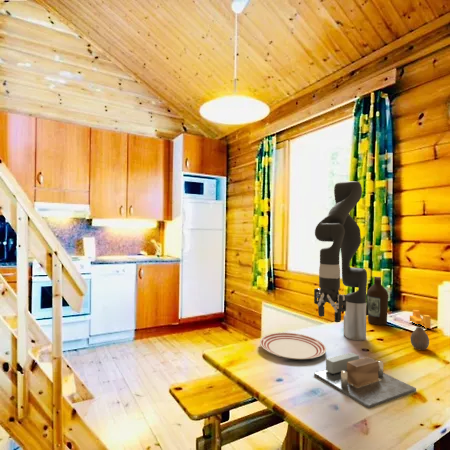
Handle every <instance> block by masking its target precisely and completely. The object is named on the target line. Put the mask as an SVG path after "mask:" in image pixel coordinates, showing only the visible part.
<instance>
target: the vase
mask: <svg viewBox="0 0 450 450" xmlns="http://www.w3.org/2000/svg"><path fill="white" fill-rule="evenodd" d="M410 345H411V346H412V347H413V348H415V350H419V351H425V350H427V349H428V348H429V345H430V338H429V336H428V334H427V333H426V331H425V330H424V327H421V326H420V327H418V326H417V327H416V328H415V330H414V331H412V333H411V334H410Z"/></svg>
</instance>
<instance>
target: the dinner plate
mask: <svg viewBox="0 0 450 450" xmlns="http://www.w3.org/2000/svg"><path fill="white" fill-rule="evenodd" d="M259 344H260V346H261V348H263V350H265V351H266V352H267V353H269V354H271V355H274V356H277V357H280V358H282V359H283V358H284V359H287V360H288V359H289V360H297V361H298V360H299V361H300V360H301V361H302V360H310V359H317V358H319V357H321V356H323V355H325V353H326V352H327V346H326V345H325V344H324V343H323V342H321V340H319V339H317V338H314V337H312V336H309V335H305V334H300V333H295V332H283V331H282V332H274V333H269V334H266V335H265V336H262V337H261V338H260V339H259Z"/></svg>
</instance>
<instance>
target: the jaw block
mask: <svg viewBox="0 0 450 450" xmlns="http://www.w3.org/2000/svg"><path fill="white" fill-rule="evenodd" d="M378 361H379V360H376V359H375V358H372V357H370V356H366V357H362V358H359V359H358V360H353V361H349V362H347V372H348V381H349V382H351V383H353V384H355V385H356V386H358V385H361V384H364V383H368V382H371V381H375V380H378Z"/></svg>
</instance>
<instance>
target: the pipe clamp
mask: <svg viewBox="0 0 450 450" xmlns="http://www.w3.org/2000/svg"><path fill="white" fill-rule="evenodd" d="M420 312H421V311H420V310H419V309H412V315H409V322H410V321H412V322H414V323H415V324H421V325H422V326H424V327H425V328H424V327H423V328H424V329H427V328H430V329H431V326H432V324H431V322H432V321H431V317H432V316H431V315H429V314H423V316H421V313H420ZM412 322H411V323H412ZM415 324H414V325H415ZM422 326H421V327H422Z"/></svg>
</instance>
